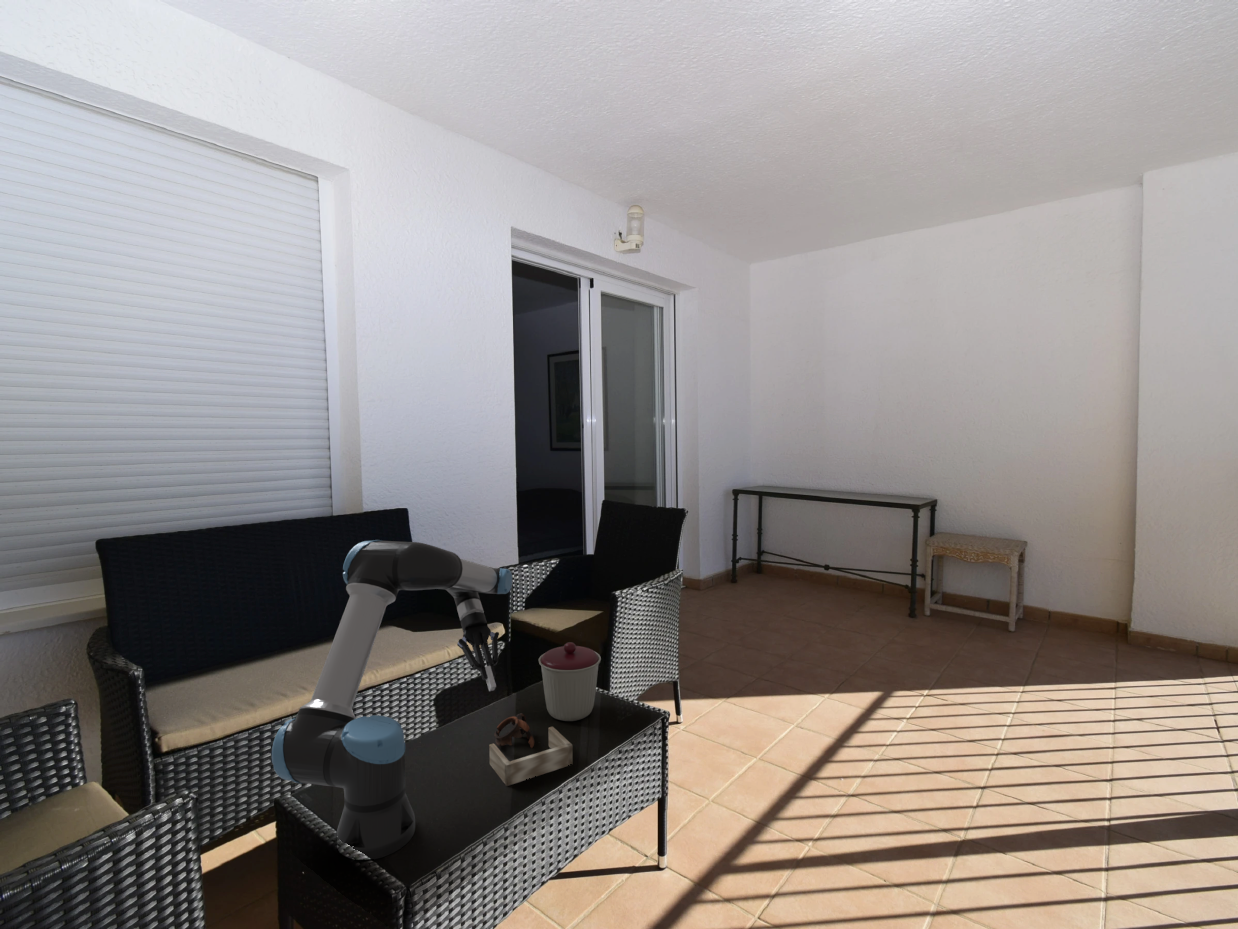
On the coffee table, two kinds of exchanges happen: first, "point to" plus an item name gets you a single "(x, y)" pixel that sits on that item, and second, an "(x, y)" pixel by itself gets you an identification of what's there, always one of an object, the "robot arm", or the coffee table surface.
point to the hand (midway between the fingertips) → (492, 688)
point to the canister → (569, 681)
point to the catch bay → (533, 760)
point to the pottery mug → (514, 730)
